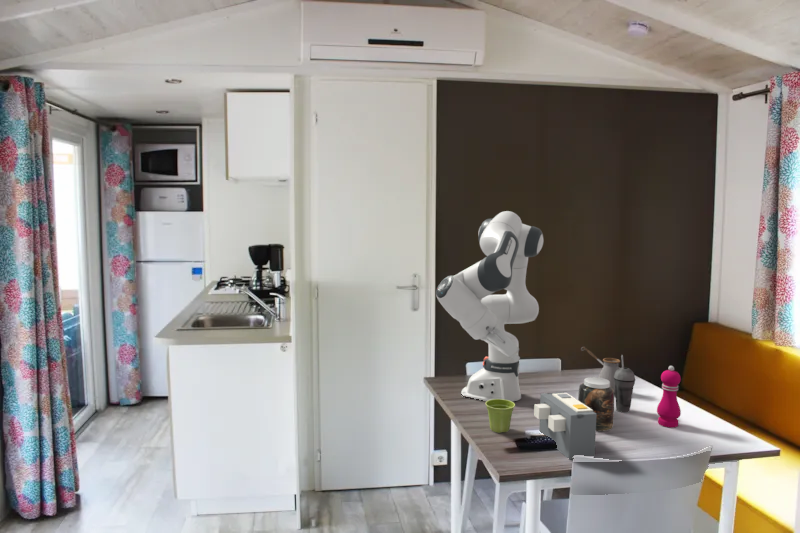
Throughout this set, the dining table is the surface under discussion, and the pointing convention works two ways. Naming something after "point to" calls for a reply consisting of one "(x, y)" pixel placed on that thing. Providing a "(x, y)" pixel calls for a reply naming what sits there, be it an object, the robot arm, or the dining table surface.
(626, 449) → the dining table surface
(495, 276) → the robot arm
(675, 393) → the pepper mill
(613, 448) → the dining table surface
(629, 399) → the beverage cup
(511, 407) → the plant pot
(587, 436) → the console
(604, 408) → the jar
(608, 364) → the coffee pot
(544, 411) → the button
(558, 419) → the button
